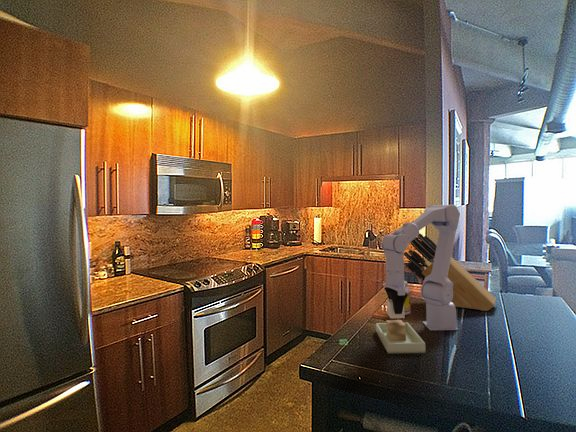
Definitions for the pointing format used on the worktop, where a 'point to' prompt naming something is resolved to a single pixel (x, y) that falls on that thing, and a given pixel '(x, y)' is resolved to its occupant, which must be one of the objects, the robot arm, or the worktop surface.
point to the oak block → (396, 330)
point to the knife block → (450, 276)
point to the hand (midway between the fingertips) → (396, 311)
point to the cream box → (391, 310)
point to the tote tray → (406, 346)
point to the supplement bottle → (407, 300)
